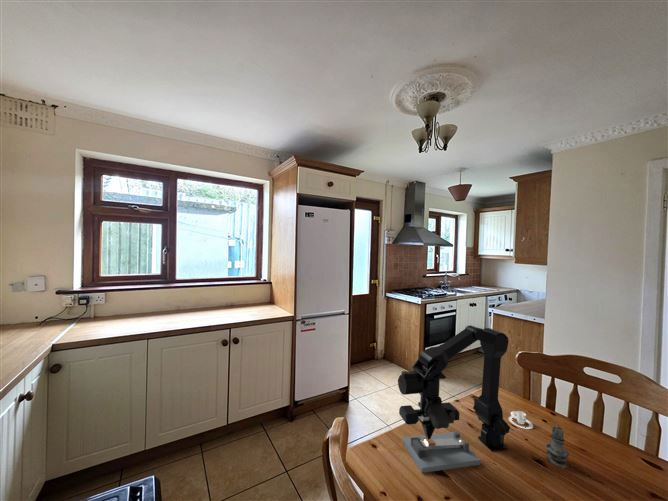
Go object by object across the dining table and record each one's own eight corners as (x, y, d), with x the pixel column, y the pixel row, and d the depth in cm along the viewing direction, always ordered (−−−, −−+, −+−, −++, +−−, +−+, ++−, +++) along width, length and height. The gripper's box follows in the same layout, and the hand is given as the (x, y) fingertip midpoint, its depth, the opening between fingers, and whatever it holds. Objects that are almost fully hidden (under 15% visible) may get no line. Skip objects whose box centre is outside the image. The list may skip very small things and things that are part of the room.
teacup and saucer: (509, 413, 111) (509, 404, 111) (532, 421, 106) (533, 411, 106) (508, 424, 104) (508, 414, 104) (533, 433, 99) (533, 422, 99)
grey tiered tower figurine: (573, 470, 82) (574, 431, 82) (552, 466, 83) (552, 428, 83) (561, 455, 88) (562, 419, 88) (541, 452, 89) (542, 417, 89)
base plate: (454, 435, 96) (454, 424, 96) (480, 464, 83) (480, 451, 83) (402, 441, 92) (403, 430, 92) (421, 472, 79) (421, 459, 79)
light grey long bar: (460, 441, 91) (460, 435, 91) (466, 448, 88) (466, 441, 88) (419, 443, 88) (419, 437, 88) (423, 450, 85) (424, 443, 85)
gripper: (415, 407, 77) (413, 460, 77) (472, 403, 81) (470, 454, 81) (399, 387, 88) (397, 434, 88) (449, 384, 92) (448, 429, 92)
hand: (428, 438), depth 87 cm, fingers closed
